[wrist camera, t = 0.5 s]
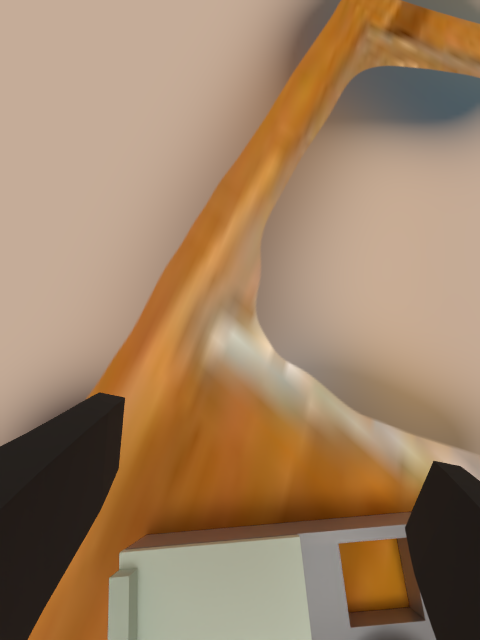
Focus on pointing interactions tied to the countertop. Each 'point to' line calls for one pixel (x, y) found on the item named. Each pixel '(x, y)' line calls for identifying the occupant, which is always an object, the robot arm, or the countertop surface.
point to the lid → (211, 592)
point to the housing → (332, 573)
